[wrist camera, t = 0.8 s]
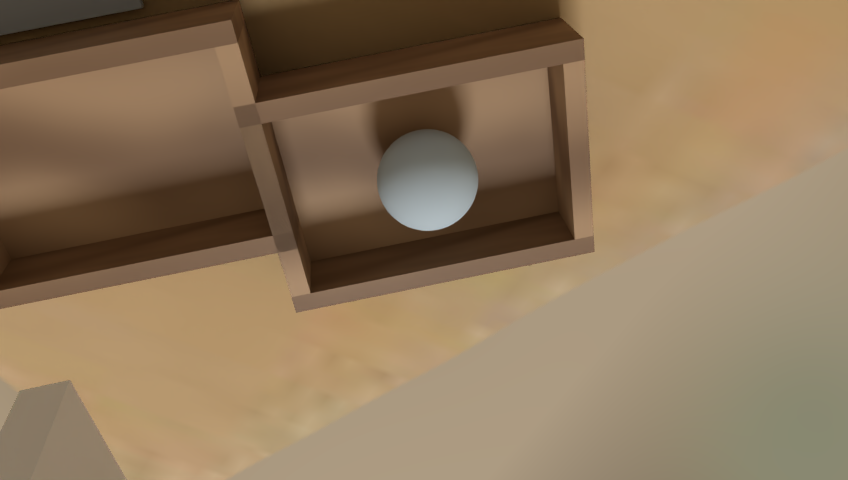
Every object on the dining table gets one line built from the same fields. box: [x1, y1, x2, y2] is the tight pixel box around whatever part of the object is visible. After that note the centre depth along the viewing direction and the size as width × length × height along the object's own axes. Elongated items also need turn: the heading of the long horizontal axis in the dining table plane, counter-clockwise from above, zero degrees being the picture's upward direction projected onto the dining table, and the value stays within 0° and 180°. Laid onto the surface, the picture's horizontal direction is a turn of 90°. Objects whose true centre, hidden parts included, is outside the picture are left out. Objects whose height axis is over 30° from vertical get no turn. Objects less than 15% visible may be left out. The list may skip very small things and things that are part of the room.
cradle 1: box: [0, 0, 298, 309], centre depth 29 cm, size 9×13×3 cm
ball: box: [377, 129, 478, 231], centre depth 30 cm, size 4×4×4 cm
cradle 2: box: [233, 18, 594, 313], centre depth 31 cm, size 9×13×3 cm
